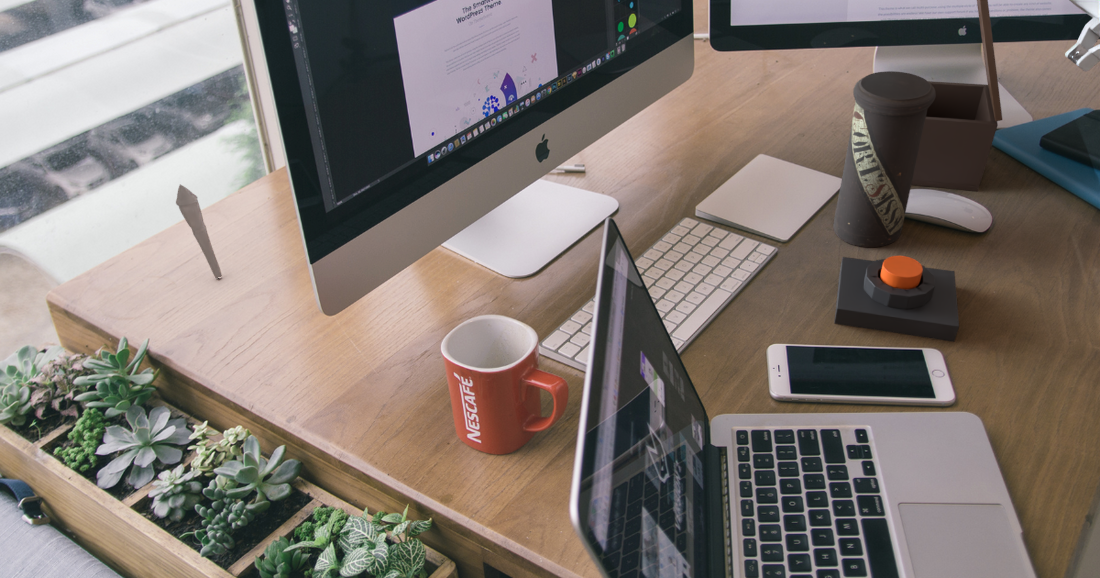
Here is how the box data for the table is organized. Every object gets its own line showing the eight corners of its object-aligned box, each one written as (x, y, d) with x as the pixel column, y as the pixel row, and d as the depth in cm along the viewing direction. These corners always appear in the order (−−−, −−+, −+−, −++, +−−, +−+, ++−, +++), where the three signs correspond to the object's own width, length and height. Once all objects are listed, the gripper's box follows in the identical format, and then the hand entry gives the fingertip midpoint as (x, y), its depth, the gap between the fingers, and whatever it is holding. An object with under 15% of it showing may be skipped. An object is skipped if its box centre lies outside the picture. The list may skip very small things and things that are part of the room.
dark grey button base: (834, 324, 85) (839, 295, 83) (839, 271, 92) (844, 243, 90) (954, 342, 81) (963, 313, 79) (950, 286, 89) (958, 257, 86)
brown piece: (979, -5, 90) (986, -7, 90) (972, -36, 99) (979, -38, 99) (995, 121, 98) (1002, 120, 98) (987, 82, 107) (994, 80, 107)
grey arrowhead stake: (210, 286, 100) (170, 192, 91) (207, 276, 102) (168, 182, 93) (230, 280, 101) (192, 186, 92) (227, 269, 103) (189, 177, 94)
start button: (879, 287, 84) (882, 274, 83) (880, 266, 87) (883, 253, 86) (919, 292, 83) (923, 279, 82) (919, 271, 86) (922, 258, 84)
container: (820, 238, 98) (844, 88, 86) (843, 205, 104) (869, 60, 92) (890, 257, 94) (926, 102, 82) (911, 221, 99) (947, 72, 87)
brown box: (854, 179, 109) (866, 114, 103) (858, 139, 118) (869, 77, 112) (977, 191, 104) (998, 124, 98) (971, 148, 113) (989, 84, 107)
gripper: (1281, 11, 75) (1144, 120, 82) (1152, -56, 90) (1046, 41, 98) (1248, -25, 72) (1110, 91, 80) (1121, -87, 88) (1015, 15, 95)
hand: (1074, 63), depth 89 cm, fingers closed
